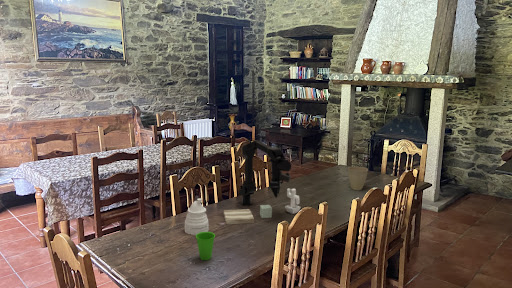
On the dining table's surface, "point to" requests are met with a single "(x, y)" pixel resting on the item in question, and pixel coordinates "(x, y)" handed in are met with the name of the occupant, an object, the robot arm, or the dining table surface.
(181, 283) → the dining table surface
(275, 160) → the robot arm
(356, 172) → the plant pot
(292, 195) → the figurine
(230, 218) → the birch base
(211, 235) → the cup
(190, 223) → the honey pot
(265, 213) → the sage cube
